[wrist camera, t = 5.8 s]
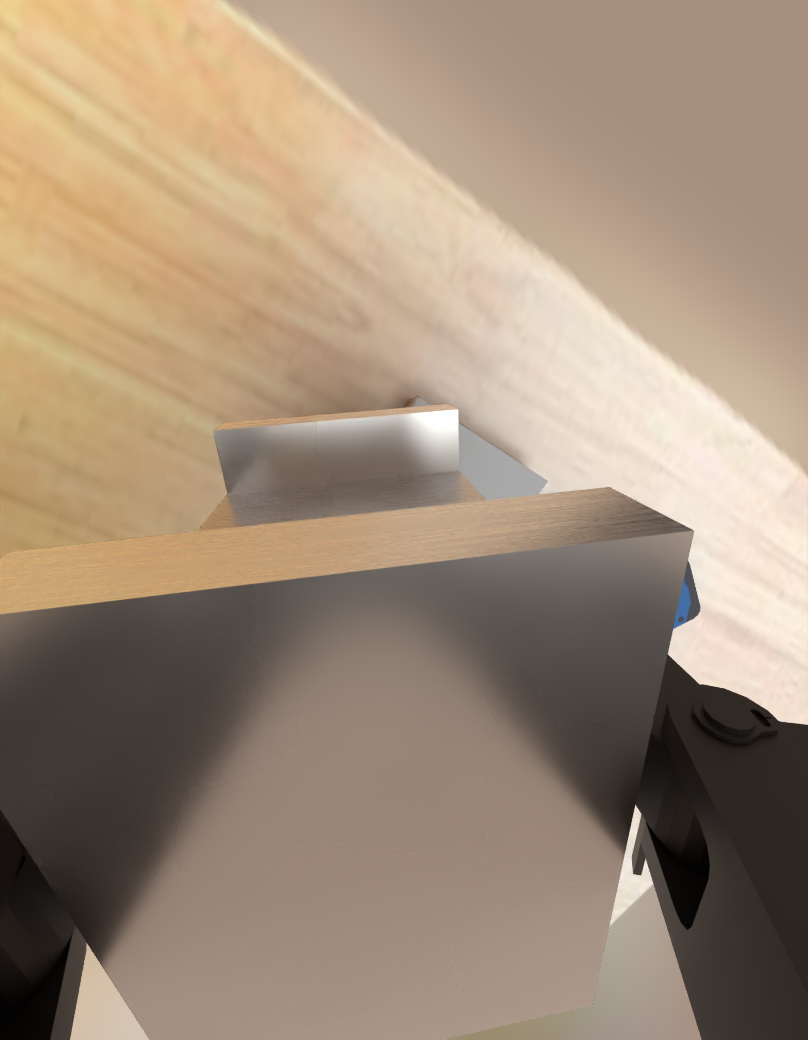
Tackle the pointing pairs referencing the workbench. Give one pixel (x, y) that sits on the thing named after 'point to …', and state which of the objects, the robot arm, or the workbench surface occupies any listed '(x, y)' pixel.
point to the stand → (491, 466)
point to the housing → (341, 736)
